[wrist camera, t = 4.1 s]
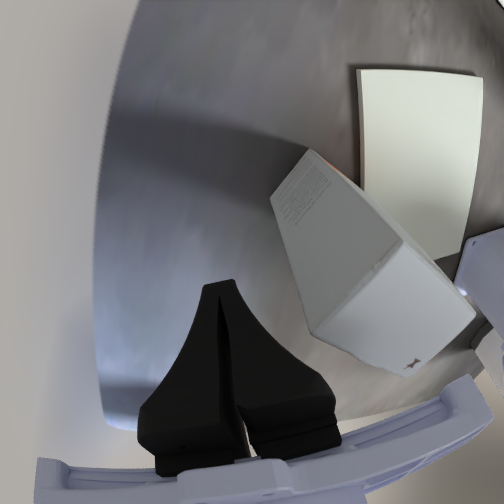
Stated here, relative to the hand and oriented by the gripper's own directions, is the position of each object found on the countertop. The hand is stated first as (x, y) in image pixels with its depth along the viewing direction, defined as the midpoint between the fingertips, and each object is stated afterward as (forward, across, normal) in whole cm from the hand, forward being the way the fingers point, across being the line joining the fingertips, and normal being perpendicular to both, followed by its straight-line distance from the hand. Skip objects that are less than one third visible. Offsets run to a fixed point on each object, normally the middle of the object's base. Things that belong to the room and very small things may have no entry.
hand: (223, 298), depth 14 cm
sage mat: (+7, -16, 0) cm, 17 cm away
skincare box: (+7, -7, 0) cm, 10 cm away
